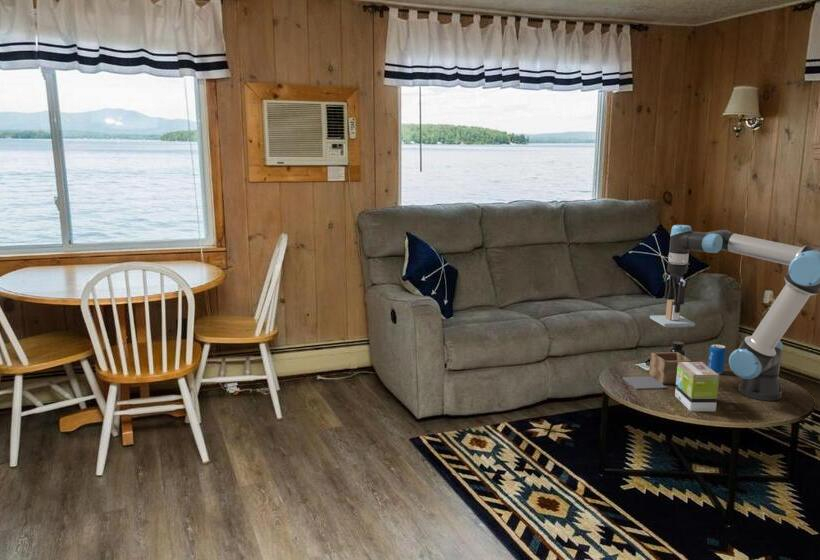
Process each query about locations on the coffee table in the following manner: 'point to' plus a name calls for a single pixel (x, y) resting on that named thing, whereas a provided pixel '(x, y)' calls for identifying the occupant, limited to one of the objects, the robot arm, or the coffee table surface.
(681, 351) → the supplement bottle
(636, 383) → the mat
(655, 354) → the box
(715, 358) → the beverage can
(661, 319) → the lid
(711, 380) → the tea box
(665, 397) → the coffee table surface
